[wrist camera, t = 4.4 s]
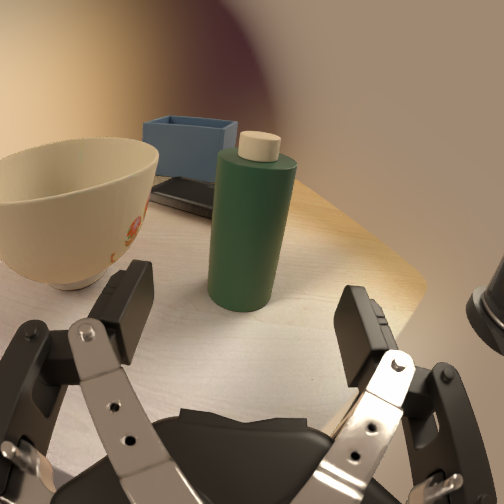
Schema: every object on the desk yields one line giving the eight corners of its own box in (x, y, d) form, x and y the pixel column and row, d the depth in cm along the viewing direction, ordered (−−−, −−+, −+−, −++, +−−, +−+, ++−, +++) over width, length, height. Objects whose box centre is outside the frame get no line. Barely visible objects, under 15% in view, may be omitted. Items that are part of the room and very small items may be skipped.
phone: (250, 221, 33) (144, 190, 37) (249, 230, 34) (144, 198, 38) (274, 199, 39) (178, 174, 43) (272, 207, 40) (178, 182, 44)
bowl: (90, 368, 16) (46, 224, 11) (-27, 289, 18) (-59, 188, 13) (188, 246, 29) (193, 145, 24) (72, 216, 32) (65, 134, 27)
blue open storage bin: (232, 166, 54) (238, 121, 50) (219, 183, 46) (225, 129, 41) (165, 158, 55) (168, 115, 51) (141, 173, 46) (142, 122, 42)
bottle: (273, 277, 27) (300, 135, 20) (267, 317, 23) (302, 149, 16) (215, 266, 27) (229, 124, 21) (200, 304, 23) (210, 135, 16)
